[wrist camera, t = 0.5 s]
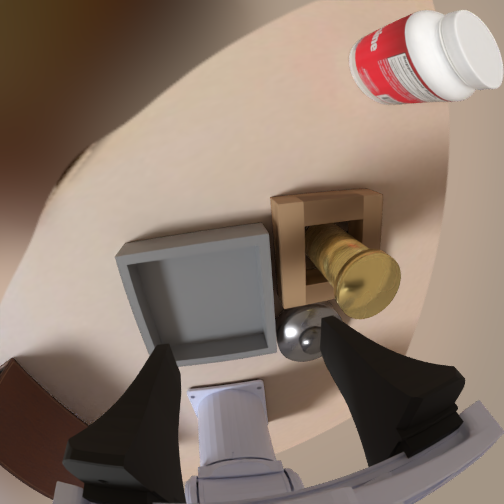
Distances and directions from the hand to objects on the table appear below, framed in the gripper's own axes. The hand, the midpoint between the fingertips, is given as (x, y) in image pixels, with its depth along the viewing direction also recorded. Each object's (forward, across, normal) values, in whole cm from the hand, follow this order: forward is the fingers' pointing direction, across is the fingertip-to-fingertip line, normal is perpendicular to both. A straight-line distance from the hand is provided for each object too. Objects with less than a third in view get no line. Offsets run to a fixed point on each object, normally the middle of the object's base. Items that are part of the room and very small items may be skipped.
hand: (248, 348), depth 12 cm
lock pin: (+10, -7, -1) cm, 12 cm away
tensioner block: (+10, -7, -1) cm, 12 cm away
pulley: (+10, -6, +7) cm, 14 cm away
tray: (+10, +3, +2) cm, 10 cm away
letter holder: (+10, +29, +19) cm, 36 cm away
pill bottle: (+10, -14, -15) cm, 22 cm away
